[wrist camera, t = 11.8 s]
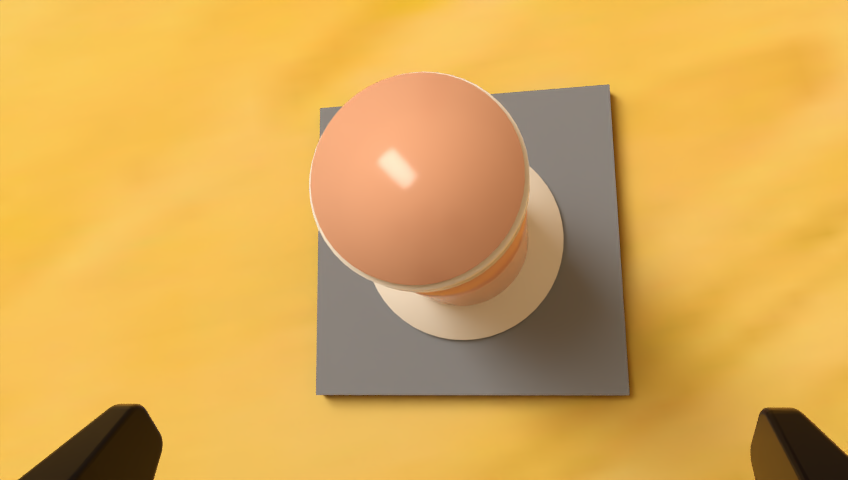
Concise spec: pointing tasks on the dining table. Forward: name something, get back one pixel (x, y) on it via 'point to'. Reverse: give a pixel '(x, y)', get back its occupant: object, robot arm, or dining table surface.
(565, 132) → the card
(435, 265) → the terracotta tube
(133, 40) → the dining table surface
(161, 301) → the dining table surface
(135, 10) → the dining table surface
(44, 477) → the robot arm
